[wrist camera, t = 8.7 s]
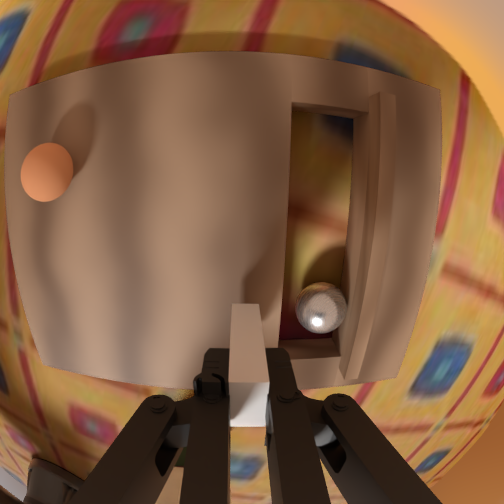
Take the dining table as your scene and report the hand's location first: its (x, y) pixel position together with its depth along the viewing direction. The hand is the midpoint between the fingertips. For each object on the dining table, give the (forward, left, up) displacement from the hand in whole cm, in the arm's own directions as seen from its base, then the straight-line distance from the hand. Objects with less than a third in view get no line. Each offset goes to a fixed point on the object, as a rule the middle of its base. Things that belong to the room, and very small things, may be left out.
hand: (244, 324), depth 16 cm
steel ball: (+5, 0, -2) cm, 5 cm away
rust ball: (-12, +9, +1) cm, 15 cm away
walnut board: (-3, +4, -4) cm, 6 cm away
